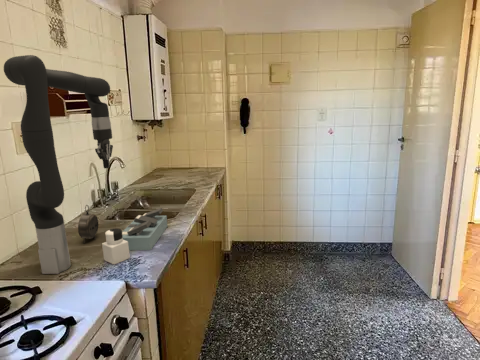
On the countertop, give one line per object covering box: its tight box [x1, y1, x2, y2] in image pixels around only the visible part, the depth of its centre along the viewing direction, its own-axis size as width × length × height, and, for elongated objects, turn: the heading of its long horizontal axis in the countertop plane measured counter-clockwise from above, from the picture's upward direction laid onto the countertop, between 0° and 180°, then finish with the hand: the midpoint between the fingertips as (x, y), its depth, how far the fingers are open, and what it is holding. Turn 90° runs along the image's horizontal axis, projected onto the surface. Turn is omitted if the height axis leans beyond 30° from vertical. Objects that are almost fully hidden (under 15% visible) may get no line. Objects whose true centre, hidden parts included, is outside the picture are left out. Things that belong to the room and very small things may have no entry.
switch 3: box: [127, 220, 151, 236], centre depth 144 cm, size 5×9×2 cm, turn 87°
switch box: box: [122, 215, 168, 251], centre depth 154 cm, size 27×14×7 cm, turn 177°
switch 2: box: [133, 214, 158, 226], centre depth 153 cm, size 5×9×2 cm, turn 87°
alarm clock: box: [77, 204, 99, 244], centre depth 153 cm, size 11×5×16 cm, turn 177°
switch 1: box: [142, 207, 164, 217], centre depth 162 cm, size 5×9×2 cm, turn 87°
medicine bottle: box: [101, 228, 131, 265], centre depth 133 cm, size 7×7×12 cm
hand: (106, 167), depth 150 cm, fingers closed
